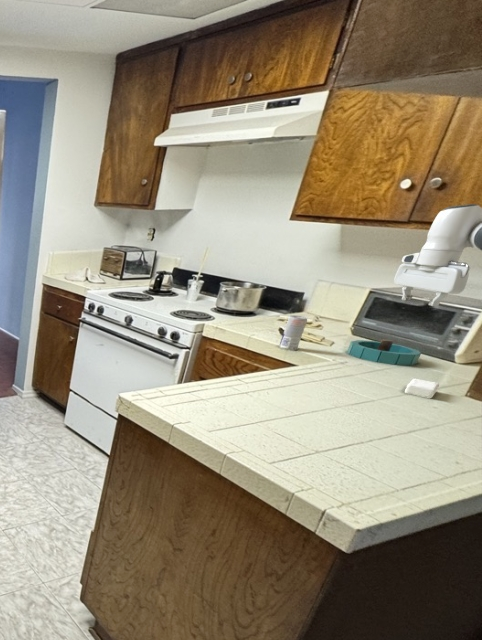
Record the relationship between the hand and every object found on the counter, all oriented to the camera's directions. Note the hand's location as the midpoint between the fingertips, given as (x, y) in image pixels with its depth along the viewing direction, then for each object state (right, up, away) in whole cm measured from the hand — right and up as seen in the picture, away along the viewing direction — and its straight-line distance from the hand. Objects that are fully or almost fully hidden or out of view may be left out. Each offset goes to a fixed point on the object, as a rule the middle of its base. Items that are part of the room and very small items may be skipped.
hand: (418, 303), depth 153 cm
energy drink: (-25, -13, +22) cm, 36 cm away
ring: (+1, -17, +13) cm, 21 cm away
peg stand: (+1, -17, +13) cm, 21 cm away
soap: (-21, -30, -19) cm, 41 cm away
